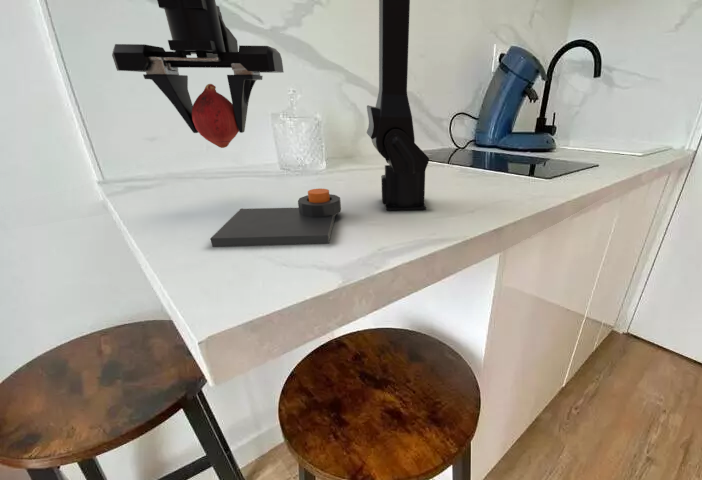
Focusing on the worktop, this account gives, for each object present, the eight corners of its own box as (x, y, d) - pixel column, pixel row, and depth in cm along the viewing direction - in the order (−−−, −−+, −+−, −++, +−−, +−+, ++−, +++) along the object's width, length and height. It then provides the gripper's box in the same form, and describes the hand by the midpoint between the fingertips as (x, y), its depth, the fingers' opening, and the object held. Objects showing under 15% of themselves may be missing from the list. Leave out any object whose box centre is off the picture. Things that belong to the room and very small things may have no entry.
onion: (227, 152, 48) (212, 83, 45) (190, 150, 50) (172, 83, 46) (253, 145, 54) (241, 83, 50) (218, 144, 55) (204, 83, 51)
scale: (342, 212, 57) (341, 193, 56) (336, 244, 46) (334, 221, 44) (244, 214, 56) (239, 195, 54) (212, 247, 45) (206, 224, 43)
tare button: (330, 198, 55) (329, 188, 54) (329, 204, 52) (328, 193, 51) (310, 198, 54) (309, 188, 54) (307, 204, 52) (306, 193, 51)
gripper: (282, 5, 51) (298, 126, 58) (141, 3, 49) (176, 127, 57) (261, -13, 41) (283, 134, 49) (85, -17, 40) (136, 136, 47)
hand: (219, 132), depth 51 cm, fingers closed on onion, 6 cm apart
